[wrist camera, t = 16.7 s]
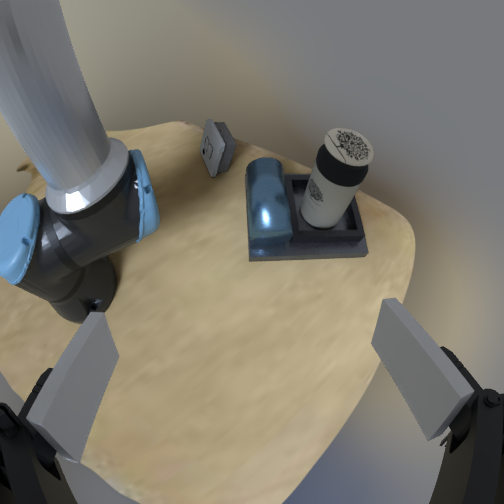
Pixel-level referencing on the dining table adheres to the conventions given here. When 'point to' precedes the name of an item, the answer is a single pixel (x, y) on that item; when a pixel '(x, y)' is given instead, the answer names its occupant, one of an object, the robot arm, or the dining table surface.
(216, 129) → the electrical switch
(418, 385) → the robot arm
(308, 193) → the travel mug
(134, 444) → the dining table surface
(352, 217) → the base
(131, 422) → the dining table surface
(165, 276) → the dining table surface
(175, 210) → the dining table surface
